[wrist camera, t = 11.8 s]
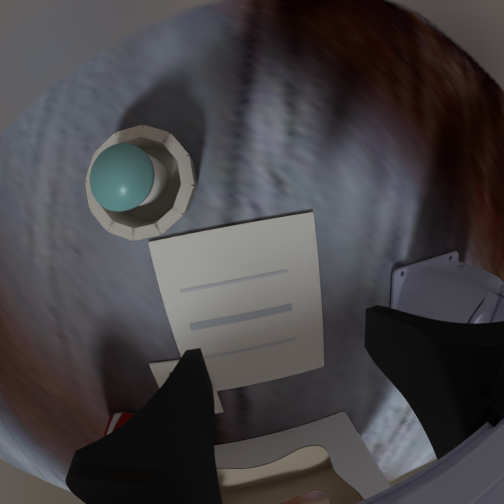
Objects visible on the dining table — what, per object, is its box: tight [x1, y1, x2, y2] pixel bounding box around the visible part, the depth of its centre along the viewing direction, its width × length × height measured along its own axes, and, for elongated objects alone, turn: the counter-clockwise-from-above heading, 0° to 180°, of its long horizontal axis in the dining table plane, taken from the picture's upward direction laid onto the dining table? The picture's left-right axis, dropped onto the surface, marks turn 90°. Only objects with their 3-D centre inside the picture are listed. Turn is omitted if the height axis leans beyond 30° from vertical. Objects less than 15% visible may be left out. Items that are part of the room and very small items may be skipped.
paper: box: [148, 212, 324, 392], centre depth 21 cm, size 12×14×1 cm
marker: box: [90, 143, 168, 212], centre depth 14 cm, size 3×3×7 cm
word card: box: [149, 359, 224, 414], centre depth 22 cm, size 5×7×1 cm
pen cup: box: [85, 125, 197, 241], centre depth 16 cm, size 6×6×4 cm
